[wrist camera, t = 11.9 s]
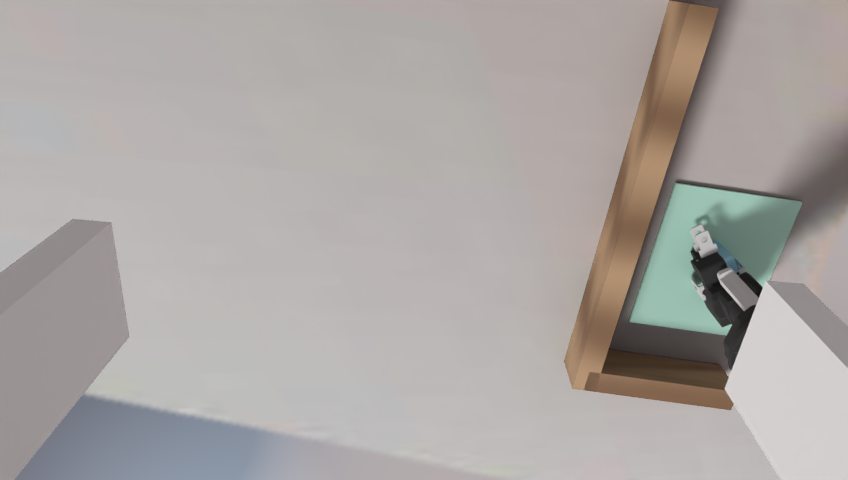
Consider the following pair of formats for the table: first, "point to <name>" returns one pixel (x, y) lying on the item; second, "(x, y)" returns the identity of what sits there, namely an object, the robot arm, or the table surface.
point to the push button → (724, 288)
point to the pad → (728, 224)
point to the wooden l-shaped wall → (644, 232)
